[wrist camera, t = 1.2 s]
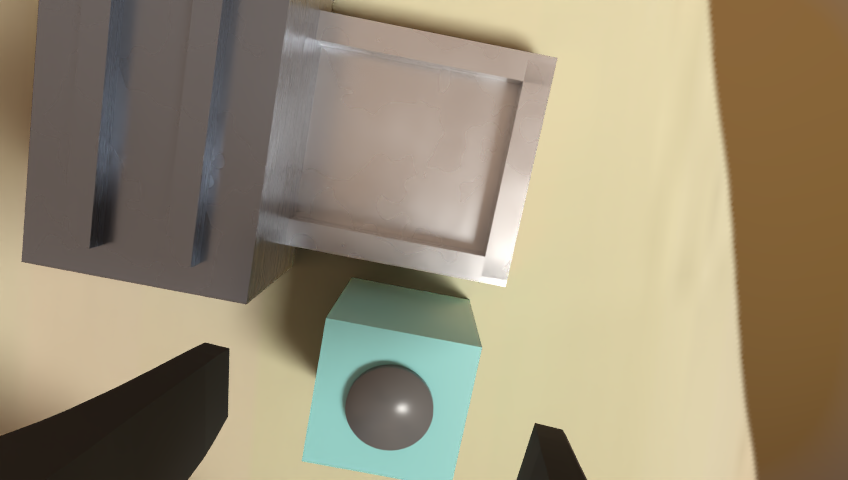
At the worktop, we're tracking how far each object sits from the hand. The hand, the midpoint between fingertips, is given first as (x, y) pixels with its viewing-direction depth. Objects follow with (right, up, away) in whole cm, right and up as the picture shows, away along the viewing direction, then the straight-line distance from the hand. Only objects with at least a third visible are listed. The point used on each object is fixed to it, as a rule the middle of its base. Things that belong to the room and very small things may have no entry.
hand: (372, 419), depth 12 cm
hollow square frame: (-2, +9, +9) cm, 13 cm away
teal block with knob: (0, 0, +10) cm, 10 cm away
